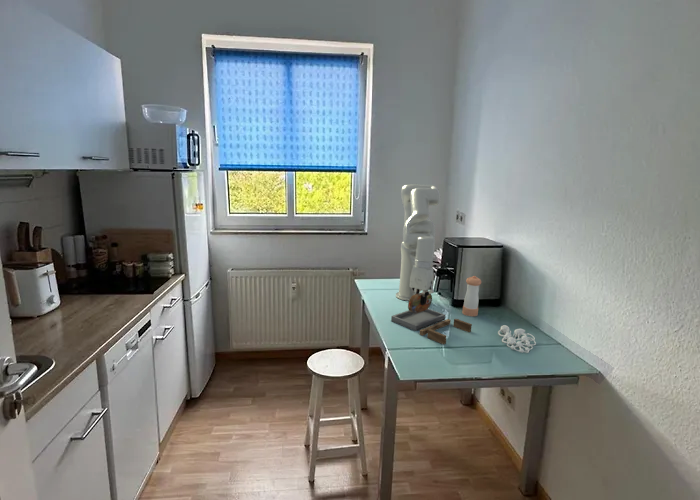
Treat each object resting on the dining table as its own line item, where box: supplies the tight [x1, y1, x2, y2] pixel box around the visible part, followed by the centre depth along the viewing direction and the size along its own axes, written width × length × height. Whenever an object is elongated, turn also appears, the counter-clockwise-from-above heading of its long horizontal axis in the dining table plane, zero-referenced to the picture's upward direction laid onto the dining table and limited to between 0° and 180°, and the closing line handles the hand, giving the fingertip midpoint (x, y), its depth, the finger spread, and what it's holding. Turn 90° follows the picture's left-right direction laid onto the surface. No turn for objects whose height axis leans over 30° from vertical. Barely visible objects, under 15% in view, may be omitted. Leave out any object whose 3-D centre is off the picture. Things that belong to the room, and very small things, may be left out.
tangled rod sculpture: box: [497, 324, 537, 354], centre depth 168 cm, size 19×14×4 cm
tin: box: [407, 291, 433, 313], centre depth 185 cm, size 15×3×8 cm, turn 133°
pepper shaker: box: [461, 275, 482, 317], centre depth 197 cm, size 7×7×19 cm
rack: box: [419, 318, 473, 345], centre depth 174 cm, size 21×12×4 cm, turn 134°
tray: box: [390, 308, 446, 332], centre depth 187 cm, size 22×14×2 cm, turn 134°
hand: (420, 303), depth 185 cm, fingers closed on tin, 2 cm apart
